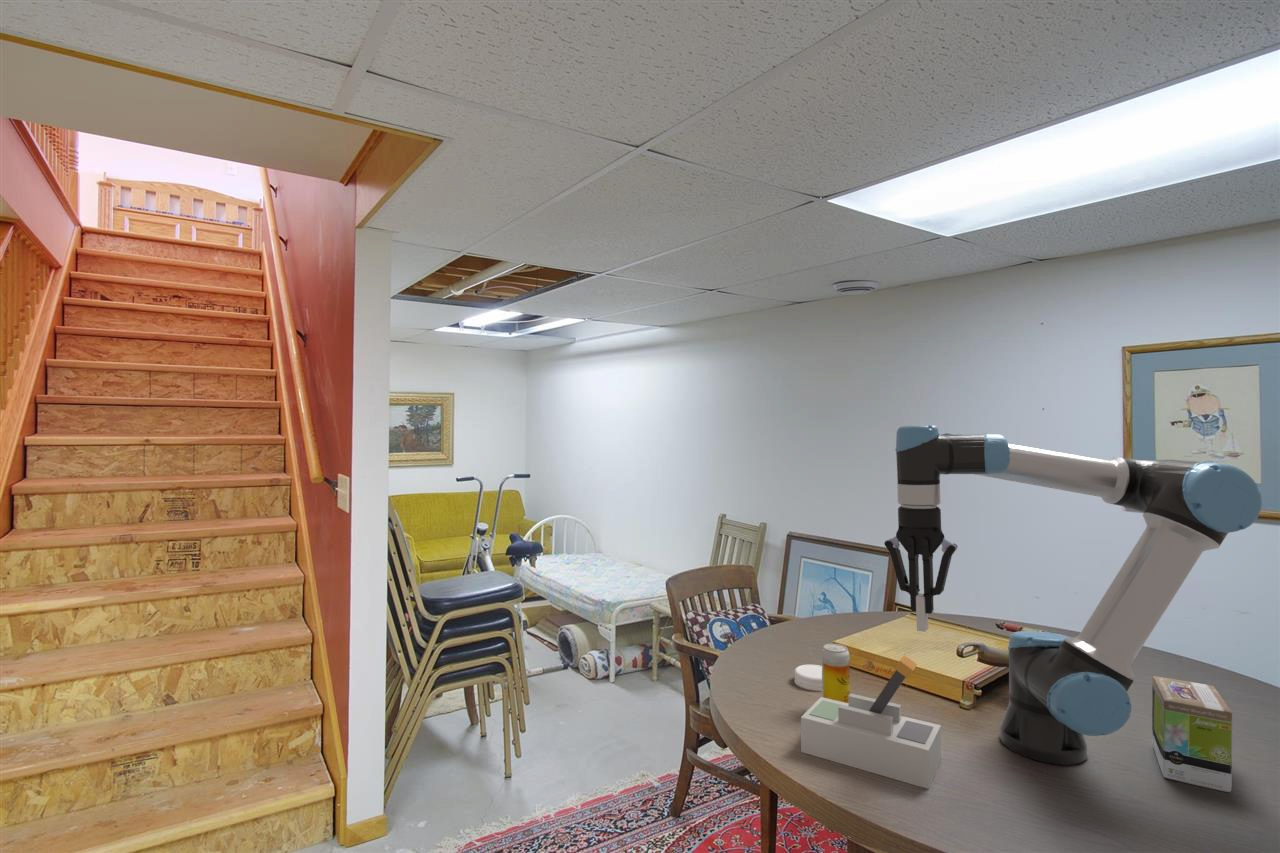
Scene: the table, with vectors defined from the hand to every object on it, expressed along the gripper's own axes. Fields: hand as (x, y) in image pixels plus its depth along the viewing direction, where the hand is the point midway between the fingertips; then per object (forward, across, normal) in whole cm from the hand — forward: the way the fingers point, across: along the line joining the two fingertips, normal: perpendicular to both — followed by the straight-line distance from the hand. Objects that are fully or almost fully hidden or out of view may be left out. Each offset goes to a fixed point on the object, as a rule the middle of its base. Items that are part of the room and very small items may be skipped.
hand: (922, 629), depth 123 cm
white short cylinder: (+27, +33, -29) cm, 51 cm away
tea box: (+28, -40, -31) cm, 58 cm away
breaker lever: (+19, +10, +1) cm, 22 cm away
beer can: (+27, +23, -15) cm, 38 cm away
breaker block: (+27, +10, +1) cm, 29 cm away
